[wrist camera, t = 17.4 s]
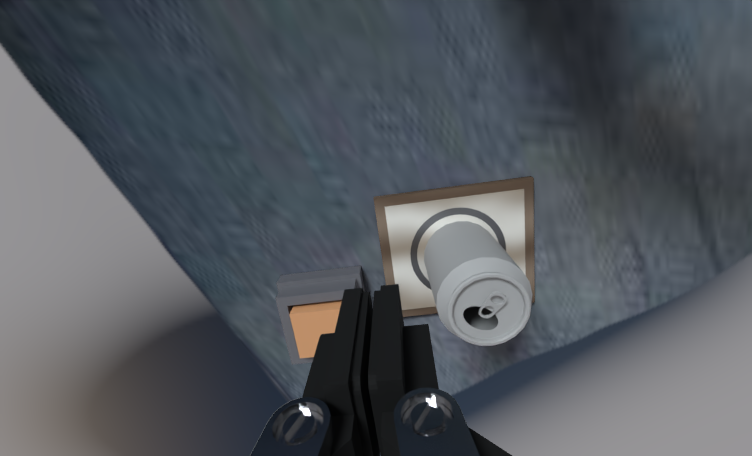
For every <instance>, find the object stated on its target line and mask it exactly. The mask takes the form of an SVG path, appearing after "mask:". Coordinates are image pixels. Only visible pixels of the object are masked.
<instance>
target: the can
mask: <svg viewBox="0 0 752 456" xmlns="http://www.w3.org/2000/svg"><path fill="white" fill-rule="evenodd" d="M424 263H425V267H426V270H427V274H428V278H429V282H430V285H431V289H432V293H433V297H434V300H435V304H436V308H437V311H438V314H439V317H440V320H441V321H442V323H443V324H444V325H445V327H446V328H447V329H448V330H449V331H450V332H452V333H453V334H455V335H456V336H458V337H459V338H461V339H463V340H464V341H466V342H467V343H471V344H474V345H478V346H494V345H498V344H501V343H505V342H507V341H508V340H510V339H512V338H514V337H515V336H516V335H517V334H518V333H519V332H520V331H521V330H522V329H523V328H524V327H525V325H526V323H527V321H528V319H529V317H530V312H531V303H532V295H533V294H532V290H531V286H530V281H529V280H528V279H527V277H526V276H525V274H524V273H523V271H522V270H521V269H520V267H519V266H518V265H517V264H516V263H515V262H514V260H513V259H512V258H511V257H510V256H509V255H508V253H507V252H506V251H505V250H504V249H503V248H502V246H501V245H500V244H499V243H498V242H497V241H496V239H495V238H494V237H493V236H492V235H491V234H490V232H489V231H487V230H486V229H485V228H483V227H482V226H481V225H479V224H476V223H472V222H469V221H456V222H453V223H450V224H446V225H444V226H443V227H441V228H440V229H438V230H437V231H435V233H434V234H433V235H432V236H431V238H430V239H429V240H428V242H427V245H426V248H425V250H424Z"/></svg>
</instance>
